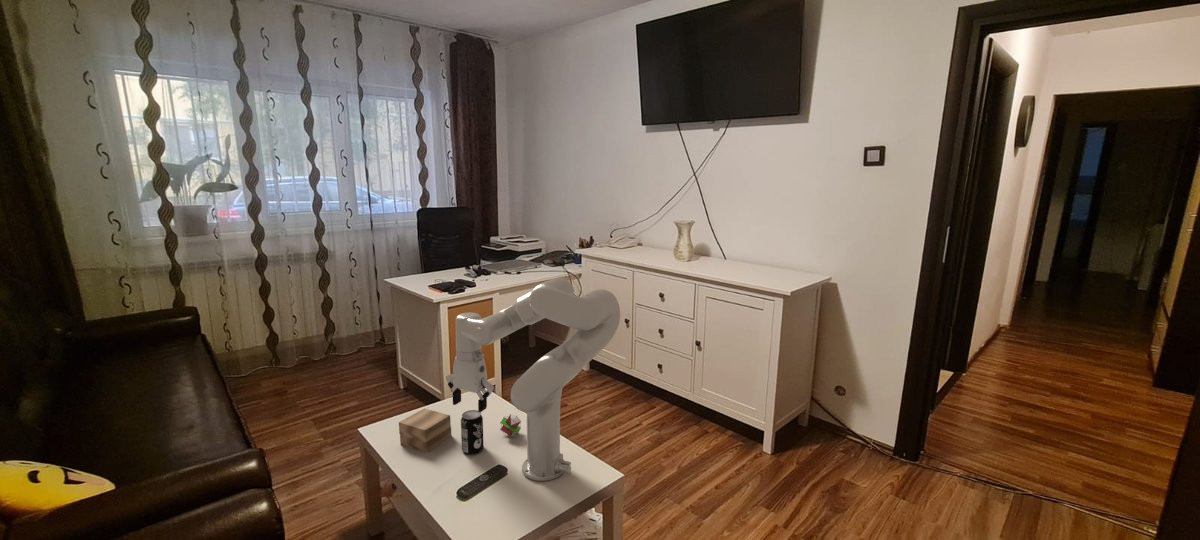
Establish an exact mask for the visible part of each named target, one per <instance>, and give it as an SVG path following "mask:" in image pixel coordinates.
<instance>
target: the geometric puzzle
mask: <svg viewBox="0 0 1200 540" xmlns="http://www.w3.org/2000/svg"><path fill="white" fill-rule="evenodd" d="M499 424H500V431H501V432H502V434H505V435H507V436H513V435H514V436H517V435H519V433H520V430H521V429H522V427H521V426H520V425H522V420H521V419H520V418H519V417H518V416H517V415H514V414H511V413H509V416H508V415H507V416H503V418H502V419H501V420H500V422H499Z"/></svg>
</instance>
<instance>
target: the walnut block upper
mask: <svg viewBox="0 0 1200 540" xmlns="http://www.w3.org/2000/svg"><path fill="white" fill-rule="evenodd" d="M451 423H452V422H451V415H450V414H447V413H443V412H440V411H436V410H432V409H428V408H424V407H423V409H421V410H419V411H417V412H416V413H414V414H412V415H410V416H408V417H406V418H404V419H402V420H400V421H399V422H398V432H399V435H400V434H401V435H404V436H407V437H410V438H414V439H417V440H420V441H423V442H427V441H429V440H430V439H432V438H433V437H435V436H437V435H438V434H440V433H442V432H443V431H445V430H446V429H448V428H450V427H451V428H452V426H451V425H452V424H451Z"/></svg>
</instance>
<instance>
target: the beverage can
mask: <svg viewBox="0 0 1200 540" xmlns="http://www.w3.org/2000/svg"><path fill="white" fill-rule="evenodd" d="M482 415H483V414H482V412H479V411H478V409H472V410H469V409H468V410H466V411H464V412H463V413H462V415H461V418H460V430H461V431H460V432H461V433H460V434H461V435H460V437H461V438H460V440H461V451H462V452H463V453H464V454H466V455H469V456H470V455H471V456H473V455H476V454H479V453H481V452H482V451H483V449H484V421H483V420H484V419H483V418H484V417H483V416H482Z"/></svg>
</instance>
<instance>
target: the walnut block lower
mask: <svg viewBox="0 0 1200 540" xmlns="http://www.w3.org/2000/svg"><path fill="white" fill-rule="evenodd" d="M451 437H452V426H451V427H450V428H448V429H446V430H445V431H443V432H442V433H440V434H438V435H437V436H435V437H433V438H432V439H430V440H429V441H427V442H423V441H420V440H417V439H414V438H410V437H407V436H404V435H401V434H399V438H400V441H399V442H400V446H403V447H407V448H410V449H414V450H416V451H420V452H423V453H426V454H428V453H430V452H432V450H433V449H436V448H437V447H438V446H440V445H441V444H443V443H444V442H446V440H448V439H450V438H451Z"/></svg>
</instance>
